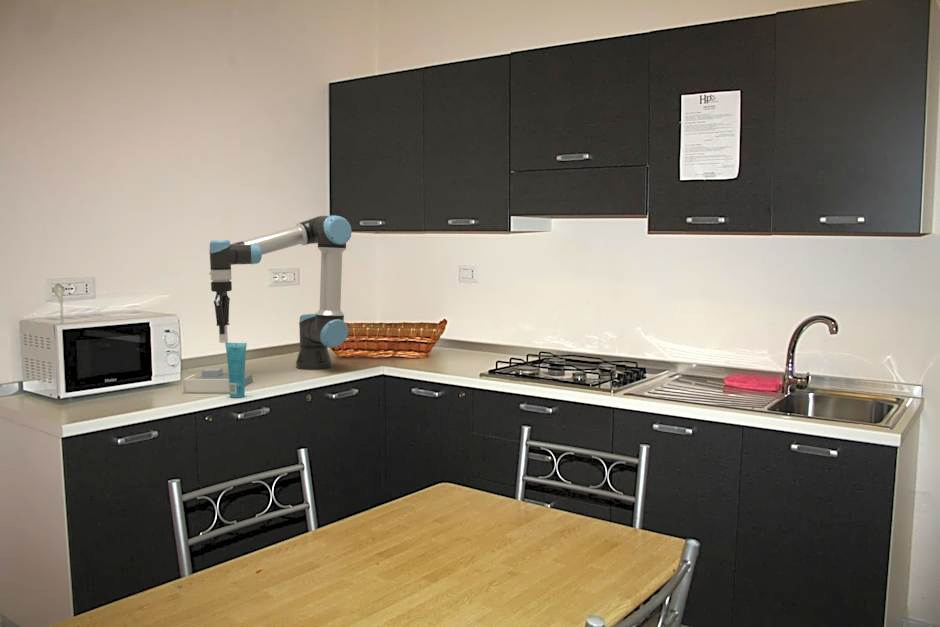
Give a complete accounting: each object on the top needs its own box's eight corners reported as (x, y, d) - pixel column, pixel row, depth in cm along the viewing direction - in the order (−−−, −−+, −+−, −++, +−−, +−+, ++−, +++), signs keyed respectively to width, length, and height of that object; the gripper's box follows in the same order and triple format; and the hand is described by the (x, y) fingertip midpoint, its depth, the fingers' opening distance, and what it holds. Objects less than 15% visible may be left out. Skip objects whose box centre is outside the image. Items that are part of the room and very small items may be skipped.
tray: (242, 388, 302) (241, 374, 301) (233, 393, 291) (232, 379, 291) (194, 387, 302) (193, 374, 302) (183, 393, 292) (183, 379, 291)
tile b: (222, 374, 313) (222, 368, 313) (217, 377, 307) (217, 370, 307) (207, 374, 314) (207, 367, 313) (201, 377, 308) (201, 370, 307)
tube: (249, 395, 289) (247, 341, 287) (246, 397, 284) (245, 343, 282) (227, 395, 288) (226, 341, 286) (224, 398, 284) (223, 343, 282)
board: (252, 381, 315) (252, 374, 315) (242, 388, 302) (242, 380, 302) (206, 381, 315) (206, 373, 315) (194, 387, 302) (194, 379, 302)
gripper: (216, 279, 314) (218, 340, 317) (205, 282, 301) (208, 344, 304) (235, 279, 314) (238, 339, 317) (226, 281, 301) (228, 344, 304)
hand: (223, 342), depth 310 cm, fingers closed
